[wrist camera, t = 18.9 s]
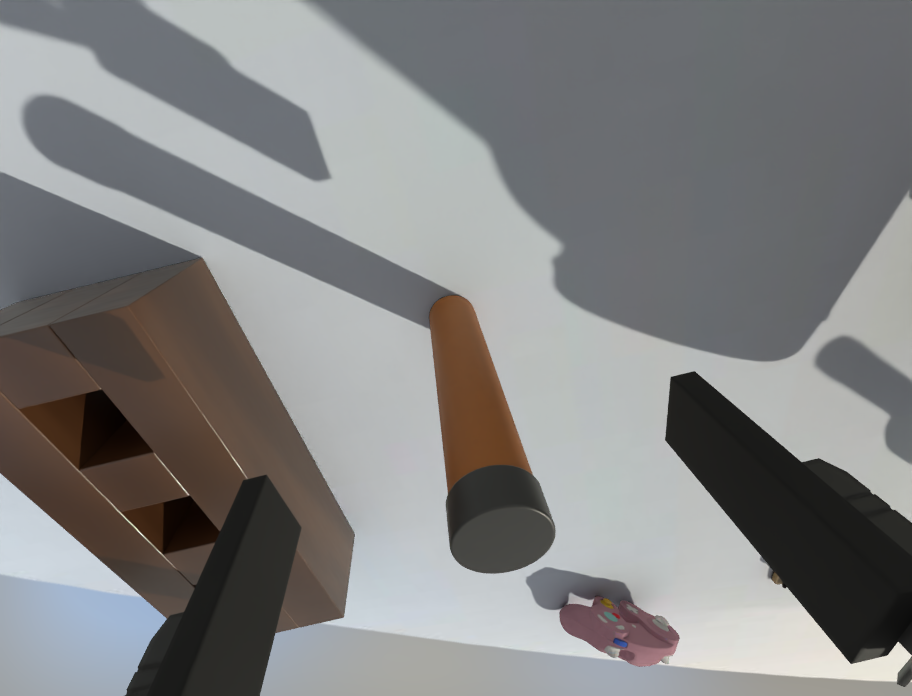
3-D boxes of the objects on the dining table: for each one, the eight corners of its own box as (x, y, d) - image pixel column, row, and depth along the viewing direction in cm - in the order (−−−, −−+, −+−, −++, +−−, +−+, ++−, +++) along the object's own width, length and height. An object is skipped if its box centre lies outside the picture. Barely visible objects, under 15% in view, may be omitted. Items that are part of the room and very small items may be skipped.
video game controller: (642, 589, 42) (699, 640, 35) (629, 630, 42) (684, 689, 35) (566, 575, 39) (613, 628, 33) (551, 619, 39) (595, 681, 32)
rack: (202, 257, 19) (127, 305, 14) (355, 534, 31) (344, 617, 25) (17, 301, 20) (-125, 366, 14) (237, 561, 31) (202, 650, 26)
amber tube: (441, 285, 21) (484, 494, 9) (485, 305, 22) (577, 521, 10) (419, 327, 22) (431, 563, 10) (461, 345, 23) (519, 582, 11)
